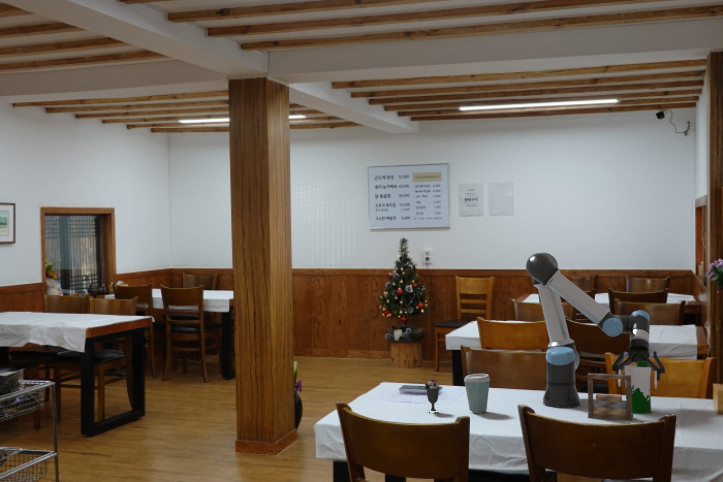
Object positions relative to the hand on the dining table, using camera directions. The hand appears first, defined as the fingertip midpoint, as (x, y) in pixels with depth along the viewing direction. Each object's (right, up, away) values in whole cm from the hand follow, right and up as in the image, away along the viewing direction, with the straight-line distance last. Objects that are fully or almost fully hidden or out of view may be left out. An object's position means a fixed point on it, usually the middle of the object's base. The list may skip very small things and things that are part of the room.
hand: (637, 385), depth 303 cm
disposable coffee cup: (-62, -12, +7) cm, 64 cm away
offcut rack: (-13, -11, -8) cm, 19 cm away
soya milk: (+1, -11, +2) cm, 11 cm away
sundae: (-80, -13, +9) cm, 82 cm away
